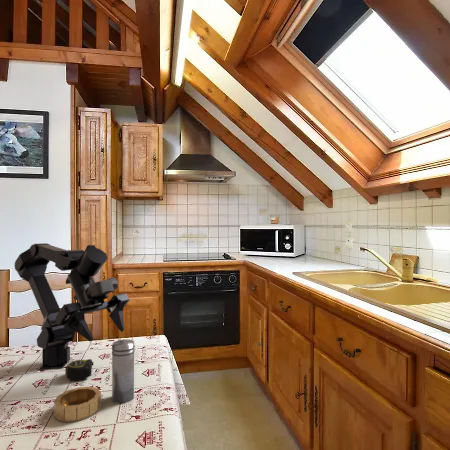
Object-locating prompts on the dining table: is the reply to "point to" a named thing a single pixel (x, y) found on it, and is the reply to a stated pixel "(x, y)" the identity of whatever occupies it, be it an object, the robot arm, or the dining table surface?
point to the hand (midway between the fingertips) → (108, 335)
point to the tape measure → (79, 369)
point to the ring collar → (77, 404)
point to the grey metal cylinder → (123, 371)
